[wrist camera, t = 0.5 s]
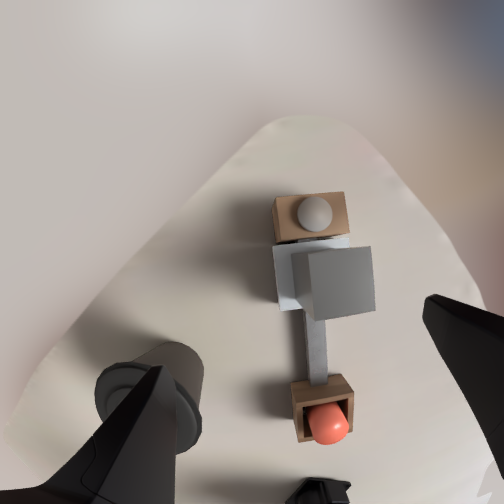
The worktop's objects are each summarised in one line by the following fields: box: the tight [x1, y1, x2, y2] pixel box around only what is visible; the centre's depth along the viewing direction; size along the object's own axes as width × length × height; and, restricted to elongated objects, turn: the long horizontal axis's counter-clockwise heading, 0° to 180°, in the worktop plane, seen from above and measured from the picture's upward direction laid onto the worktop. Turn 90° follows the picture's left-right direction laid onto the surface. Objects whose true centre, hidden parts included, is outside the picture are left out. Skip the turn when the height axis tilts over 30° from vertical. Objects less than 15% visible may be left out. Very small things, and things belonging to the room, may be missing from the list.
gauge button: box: [305, 401, 349, 445], centre depth 20 cm, size 3×3×4 cm
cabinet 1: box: [272, 192, 350, 243], centre depth 21 cm, size 3×5×6 cm, turn 97°
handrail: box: [295, 238, 328, 387], centre depth 23 cm, size 13×2×2 cm, turn 7°
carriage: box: [272, 237, 375, 321], centre depth 19 cm, size 5×6×10 cm
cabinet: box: [291, 374, 354, 443], centre depth 22 cm, size 5×5×4 cm
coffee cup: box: [94, 342, 204, 455], centre depth 19 cm, size 8×8×10 cm
